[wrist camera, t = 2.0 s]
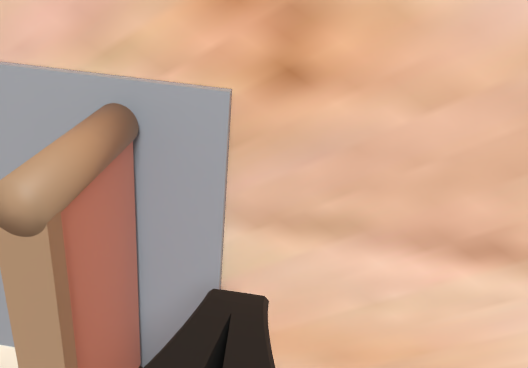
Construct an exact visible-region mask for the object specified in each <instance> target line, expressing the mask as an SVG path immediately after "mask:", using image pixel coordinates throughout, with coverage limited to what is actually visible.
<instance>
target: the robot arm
mask: <svg viewBox="0 0 528 368" xmlns="http://www.w3.org/2000/svg"><path fill="white" fill-rule="evenodd" d="M268 303H269V301H268V299H267V298H266V297H265V296H260V295H254V294H247V293H240V292H234V291H227V290H220V289H212V290H210V291H209V292H208V293H207V295H206V296H205V298H204V299H203V300H202V302H201V303H200V305H199V306H198V307H197V309H196V310H195V311H194V312H193V314H192V315H191V316H190V317H189V319H188V320H187V321H186V322H185V323H184V325H183V326H182V327H181V328H180V329H179V330H178V332H177V333H176V334H175V335H174V336H173V337H172V338H171V339H170V341H169V342H168V343H167V344H166V345H165V346H164V347H163V348H162V349H161V350H160V352H159V353H158V354H157V355H156V356H155V357H154V358H153V359H152V360H151V361H150V362H149V363H148V364H147V365H146V366H145V367H144V368H275V365H274V360H273V355H272V350H271V344H270V338H269V329H268Z"/></svg>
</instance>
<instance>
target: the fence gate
mask: <svg viewBox="0 0 528 368" xmlns="http://www.w3.org/2000/svg"><path fill="white" fill-rule="evenodd" d="M138 128H139V127H138V121H137V119H136V117H135V115H134V114H133V112H132V111H131V110H130V109H128V108H127V107H125V106H123V105H121V104H117V103H109V104H106V105H104V106H102V107H101V108H100V109H98V110H97V111H96V112H94V113H93V114H91V115H90V116H89V117H87V118H86V119H84V120H83V121H82V122H80V123H79V124H77V125H76V126H75V127H73V128H72V129H70V130H69V131H68V132H66V133H65V134H64V135H62V136H61V137H59V138H58V139H57V140H55V141H54V142H52V143H51V144H50V145H48V146H47V147H45V148H44V149H43V150H41V151H40V152H39V153H37V154H36V155H34V156H33V157H32V158H30V159H29V160H27V161H26V162H25V163H23V164H22V165H20V166H19V167H18V168H16V169H15V170H13V171H12V172H11V173H9V174H8V175H7V176H5V177H4V178H2V179H1V180H0V270H1V275H2V281H3V286H4V292H5V297H6V303H7V308H8V314H9V319H10V324H11V330H12V335H13V341H14V346H15V352H16V357H17V363H18V368H139V366H140V364H141V362H140V333H139V304H138V275H137V246H136V217H135V188H134V159H133V140H134V139H135V138H136V136H137V134H138Z"/></svg>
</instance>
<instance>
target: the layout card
mask: <svg viewBox="0 0 528 368" xmlns="http://www.w3.org/2000/svg"><path fill="white" fill-rule="evenodd" d="M231 97H232V89H225V88H217V87H208V86H200V85H192V84H183V83H175V82H166V81H158V80H150V79H141V78H133V77H125V76H116V75H108V74H99V73H91V72H83V71H74V70H66V69H58V68H49V67H41V66H32V65H24V64H16V63H7V62H0V180H1V179H2V178H4V177H5V176H7V175H8V174H9V173H11V172H12V171H13V170H15V169H16V168H18V167H19V166H20V165H22V164H23V163H25V162H26V161H27V160H29V159H30V158H32V157H33V156H34V155H36V154H37V153H39V152H40V151H41V150H43V149H44V148H45V147H47V146H48V145H50V144H51V143H52V142H54V141H55V140H57V139H58V138H59V137H61V136H62V135H64V134H65V133H66V132H68V131H69V130H70V129H72V128H73V127H75V126H76V125H77V124H79V123H80V122H82V121H83V120H84V119H86V118H87V117H89V116H90V115H91V114H93V113H94V112H96V111H97V110H98V109H100V108H101V107H102V106H104V105H106V104H109V103H117V104H121V105H123V106H125V107H127V108H128V109H130V110H131V111H132V112H133V114H134V115H135V117H136V119H137V121H138V127H139V128H138V134H137V136H136V138H135V139H134V140H133V159H134V188H135V217H136V246H137V275H138V304H139V333H140V362H141V364H140V366H142V367H143V368H144V367H145V366H146V365H147V364H148V363H149V362H150V361H151V360H152V359H153V358H154V357H155V356H156V355H157V354H158V353H159V352H160V350H161V349H162V348H163V347H164V346H165V345H166V344H167V343H168V342H169V341H170V339H171V338H172V337H173V336H174V335H175V334H176V333H177V332H178V330H179V329H180V328H181V327H182V326H183V325H184V323H185V322H186V321H187V320H188V319H189V317H190V316H191V315H192V314H193V312H194V311H195V310H196V309H197V307H198V306H199V305H200V303H201V302H202V300H203V299H204V298H205V296H206V295H207V293H208V292H209V291H210V290H212V289H220V290H221V272H222V255H223V237H224V220H225V202H226V184H227V167H228V149H229V132H230V114H231ZM0 368H18V363H17V357H16V352H15V346H14V341H13V335H12V330H11V324H10V319H9V314H8V308H7V303H6V297H5V292H4V286H3V281H2V275H1V270H0Z"/></svg>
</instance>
